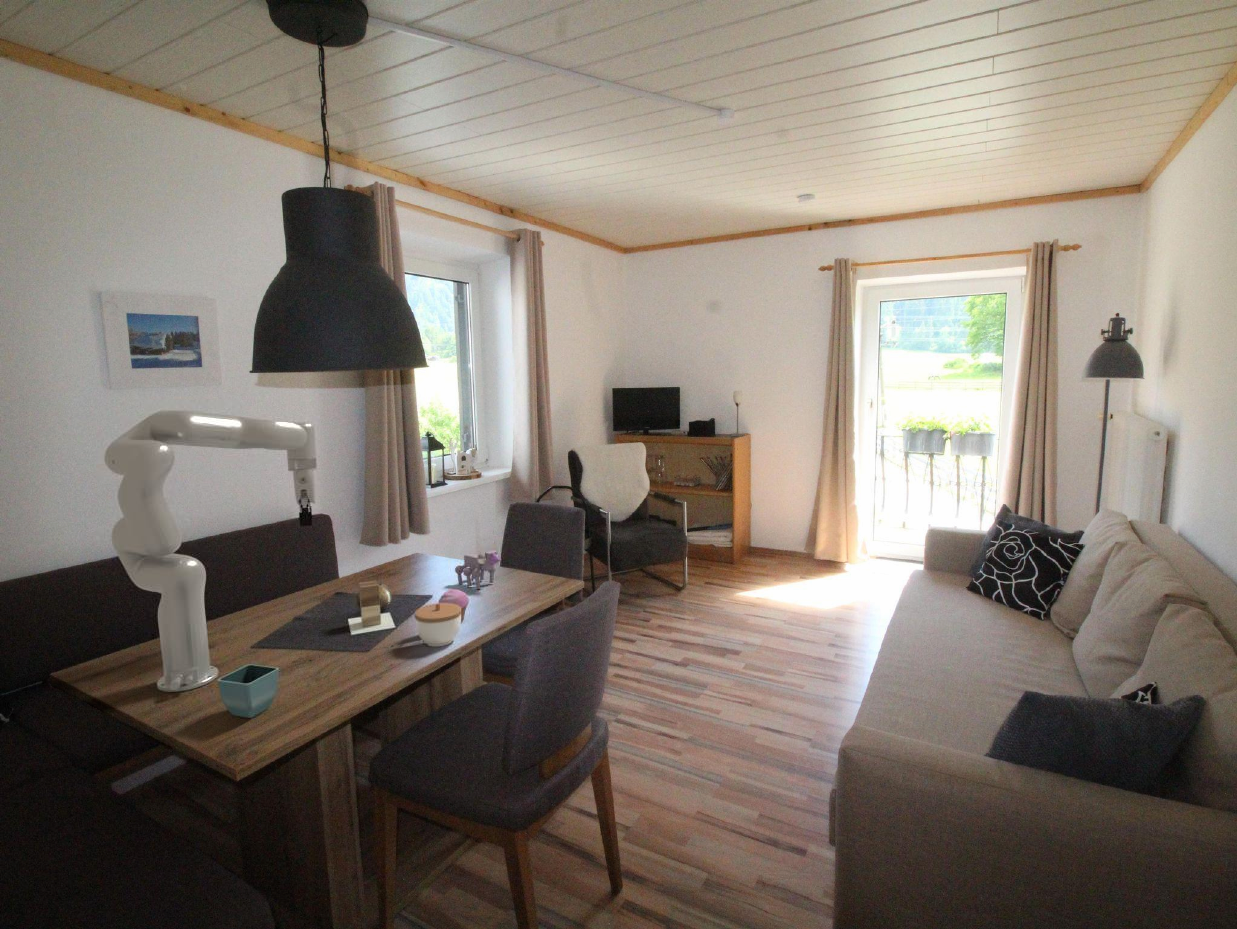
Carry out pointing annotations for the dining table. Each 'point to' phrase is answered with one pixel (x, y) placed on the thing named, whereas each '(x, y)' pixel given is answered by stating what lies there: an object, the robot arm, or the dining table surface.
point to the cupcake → (456, 600)
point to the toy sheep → (478, 567)
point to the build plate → (358, 628)
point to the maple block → (370, 615)
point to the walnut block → (369, 593)
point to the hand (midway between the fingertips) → (306, 522)
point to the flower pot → (249, 689)
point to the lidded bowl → (438, 623)
